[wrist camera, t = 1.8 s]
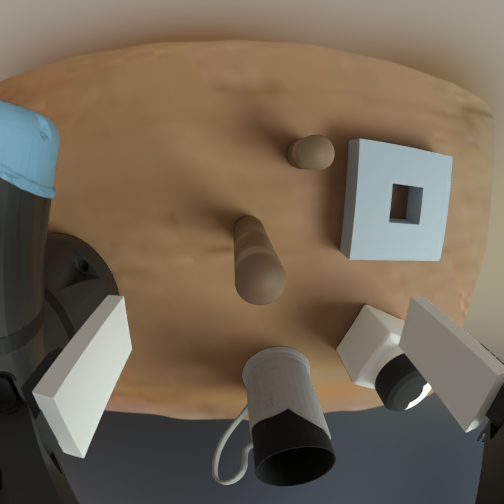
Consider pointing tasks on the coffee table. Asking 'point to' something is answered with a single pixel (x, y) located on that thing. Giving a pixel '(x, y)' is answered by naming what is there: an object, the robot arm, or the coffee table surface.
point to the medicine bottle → (381, 359)
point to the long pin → (256, 263)
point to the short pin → (311, 153)
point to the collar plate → (379, 202)
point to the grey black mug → (282, 421)
